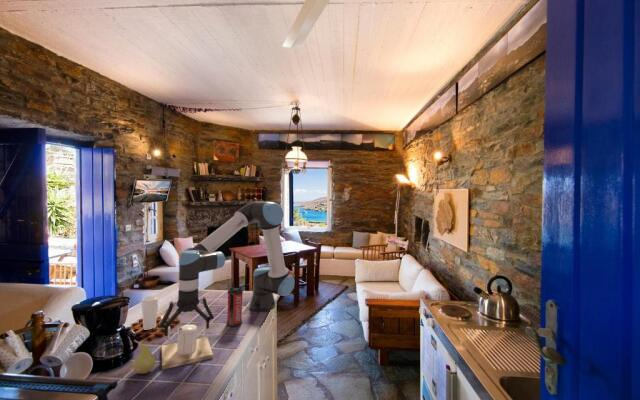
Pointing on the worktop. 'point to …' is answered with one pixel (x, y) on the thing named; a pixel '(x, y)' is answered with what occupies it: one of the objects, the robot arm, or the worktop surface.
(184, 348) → the white domed knob
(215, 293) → the worktop surface
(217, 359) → the worktop surface
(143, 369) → the fruit
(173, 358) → the board
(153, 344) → the worktop surface
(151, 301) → the drinking glass
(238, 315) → the speaker
